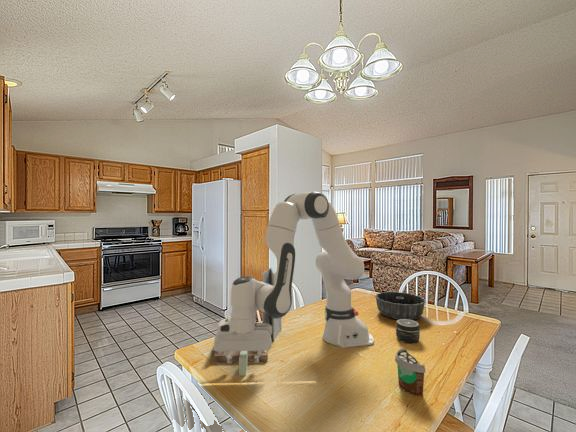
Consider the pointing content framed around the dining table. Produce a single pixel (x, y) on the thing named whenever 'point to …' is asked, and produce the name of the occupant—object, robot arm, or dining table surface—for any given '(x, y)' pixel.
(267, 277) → the brochure
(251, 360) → the tray
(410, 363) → the food container
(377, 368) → the dining table surface
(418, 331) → the jar
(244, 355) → the pale green brick
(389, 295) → the bundt pan
